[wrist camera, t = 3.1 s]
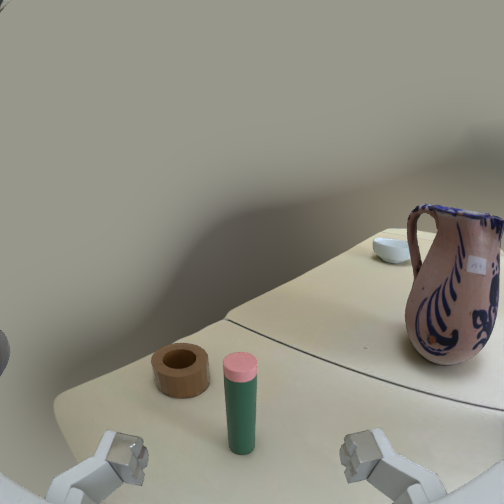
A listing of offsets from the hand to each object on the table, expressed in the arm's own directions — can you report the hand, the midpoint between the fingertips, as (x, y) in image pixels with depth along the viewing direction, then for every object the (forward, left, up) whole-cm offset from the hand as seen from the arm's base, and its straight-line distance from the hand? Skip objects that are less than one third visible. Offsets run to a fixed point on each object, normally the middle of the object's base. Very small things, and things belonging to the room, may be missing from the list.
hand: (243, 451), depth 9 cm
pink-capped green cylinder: (+5, +11, -17) cm, 21 cm away
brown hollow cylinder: (+3, +25, -17) cm, 30 cm away
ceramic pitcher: (+42, +8, -17) cm, 46 cm away
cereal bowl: (+87, +47, -17) cm, 101 cm away
